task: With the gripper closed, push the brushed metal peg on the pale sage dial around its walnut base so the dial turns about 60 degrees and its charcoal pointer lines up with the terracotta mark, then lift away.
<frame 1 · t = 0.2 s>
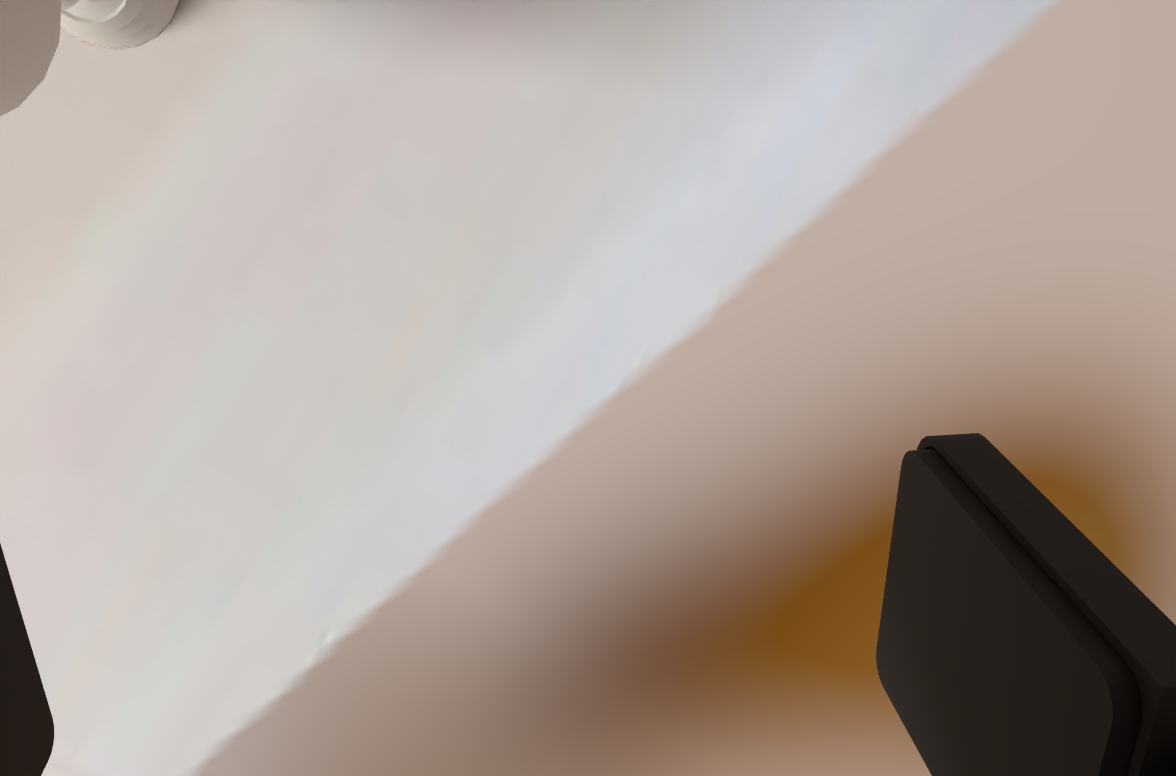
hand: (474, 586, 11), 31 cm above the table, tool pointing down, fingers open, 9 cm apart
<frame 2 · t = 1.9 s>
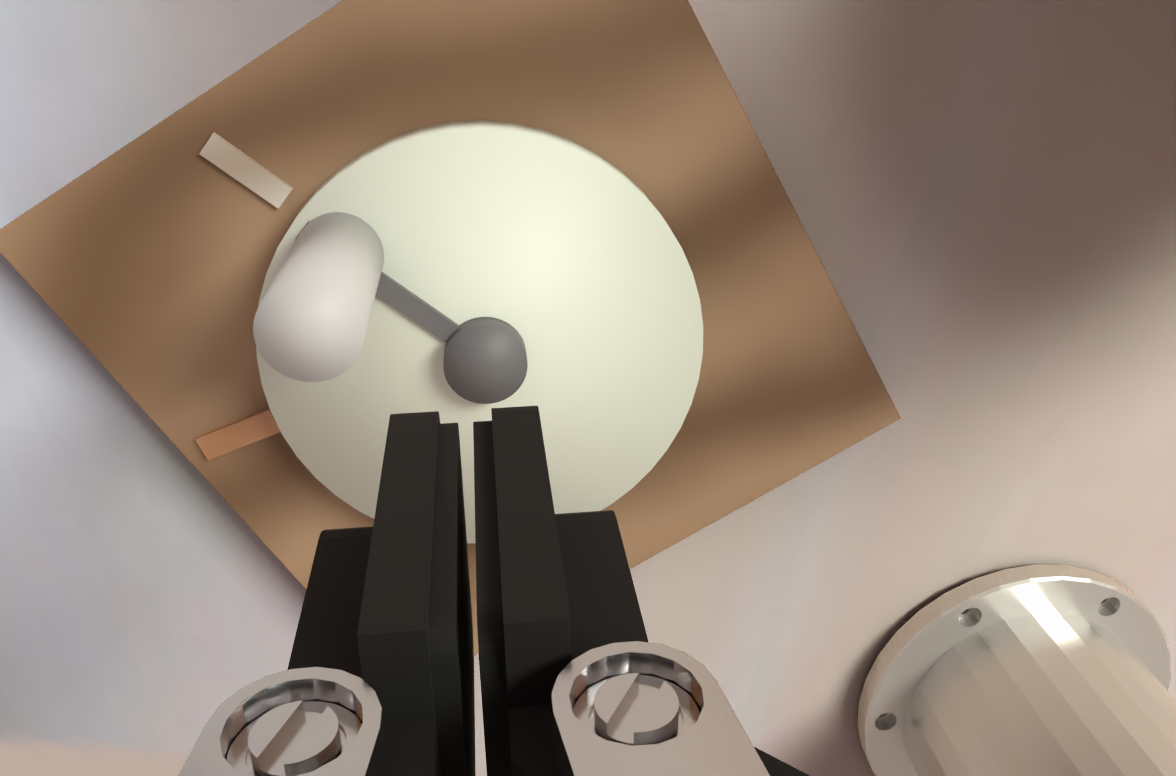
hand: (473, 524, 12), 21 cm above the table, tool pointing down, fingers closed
dial base: (483, 319, 32), on the table
dial: (486, 386, 28), point 5 cm above the table, hinge at 0.0°
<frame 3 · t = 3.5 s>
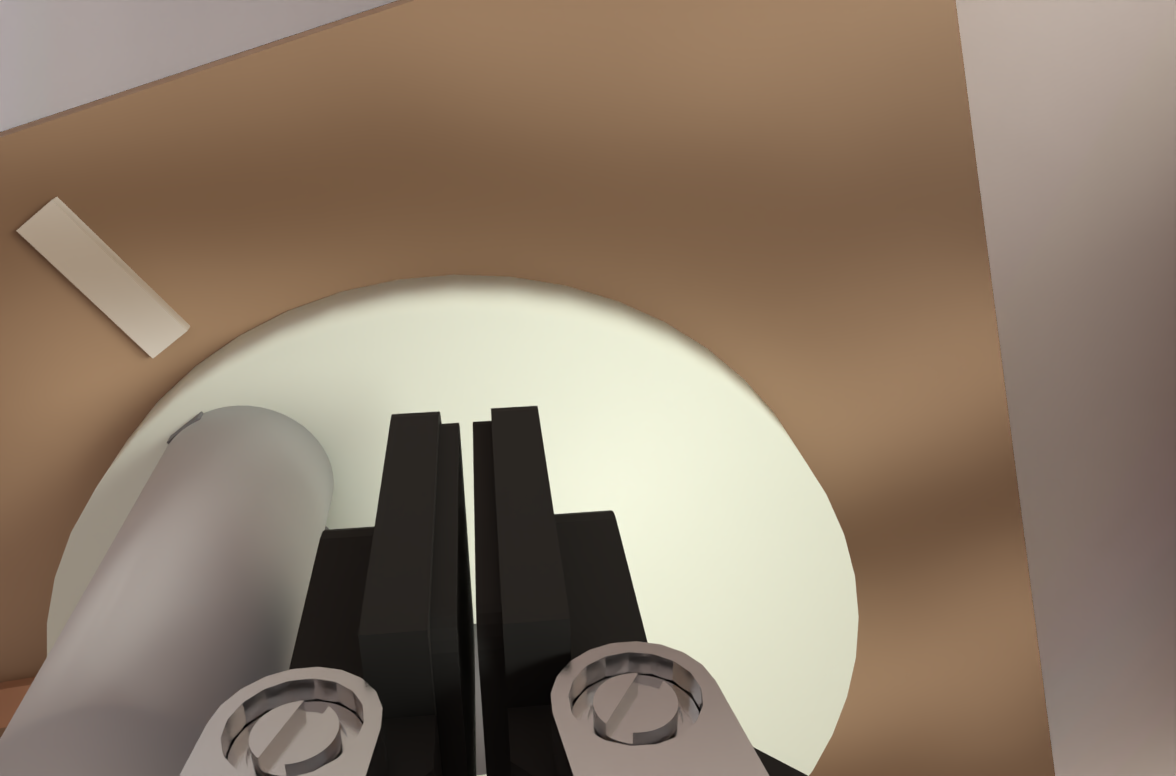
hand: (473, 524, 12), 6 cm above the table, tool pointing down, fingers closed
dial base: (470, 575, 19), on the table
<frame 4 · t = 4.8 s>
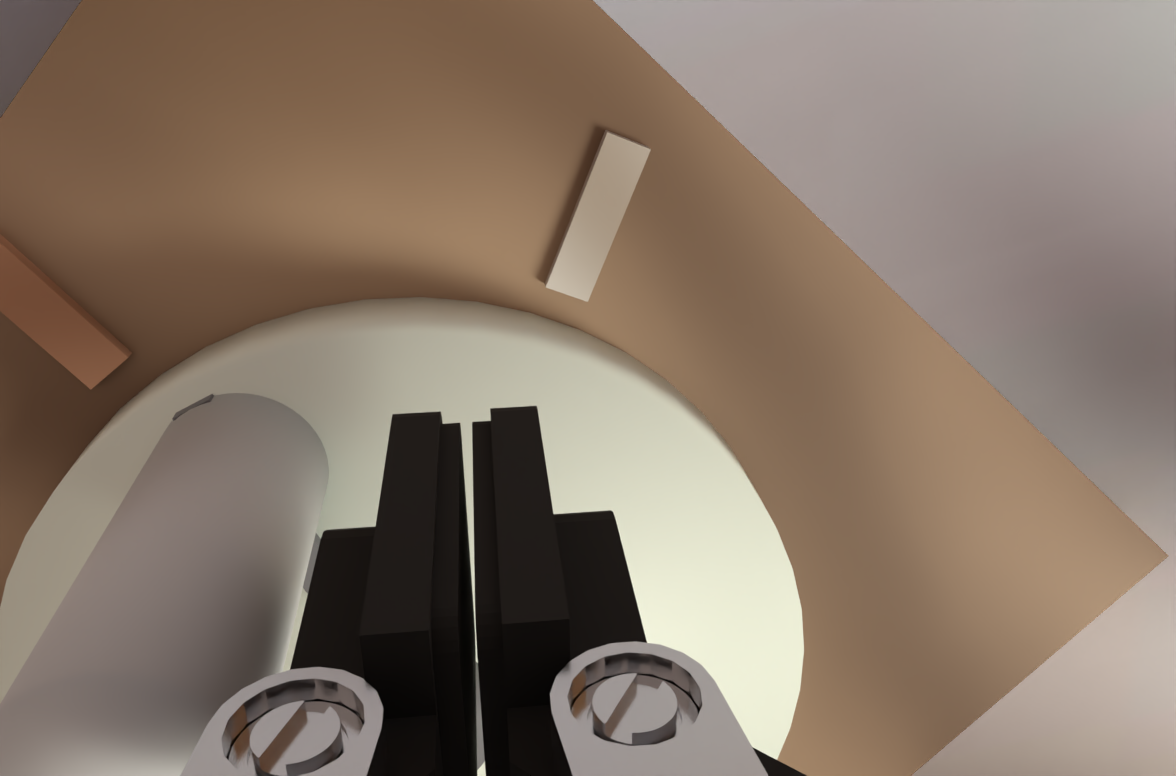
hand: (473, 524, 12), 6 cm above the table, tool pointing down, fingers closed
dial base: (425, 593, 19), on the table
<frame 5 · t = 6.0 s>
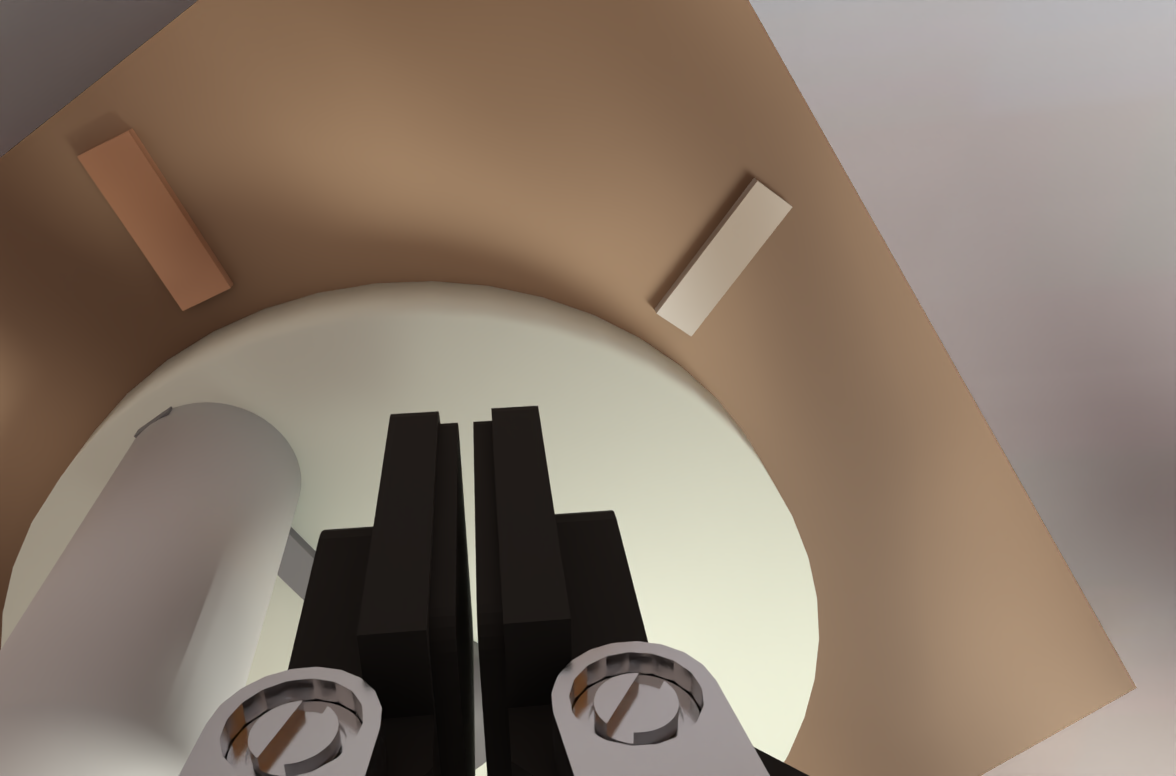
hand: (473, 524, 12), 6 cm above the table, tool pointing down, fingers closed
dial base: (435, 581, 19), on the table
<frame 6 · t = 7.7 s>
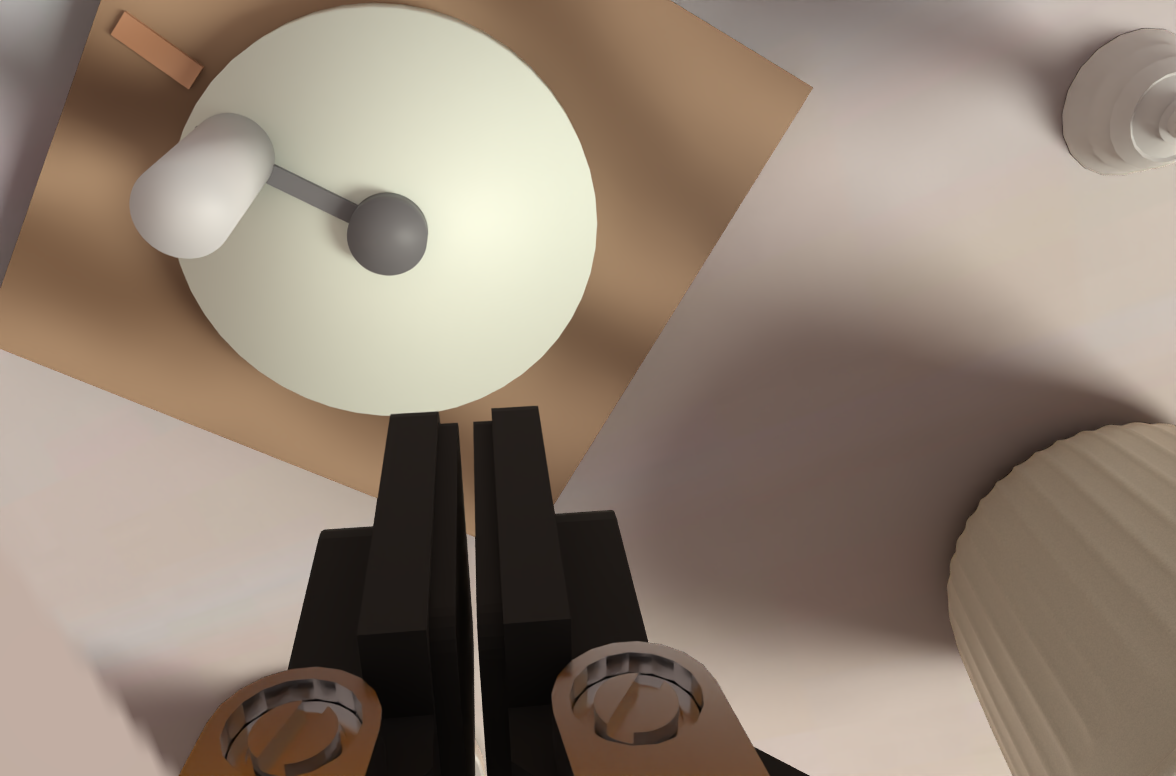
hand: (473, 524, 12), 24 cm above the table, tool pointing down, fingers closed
canister: (1077, 537, 44), on the table
chalice: (1129, 103, 36), on the table
dial base: (395, 203, 34), on the table
dial: (383, 253, 29), point 5 cm above the table, hinge at 69.8°
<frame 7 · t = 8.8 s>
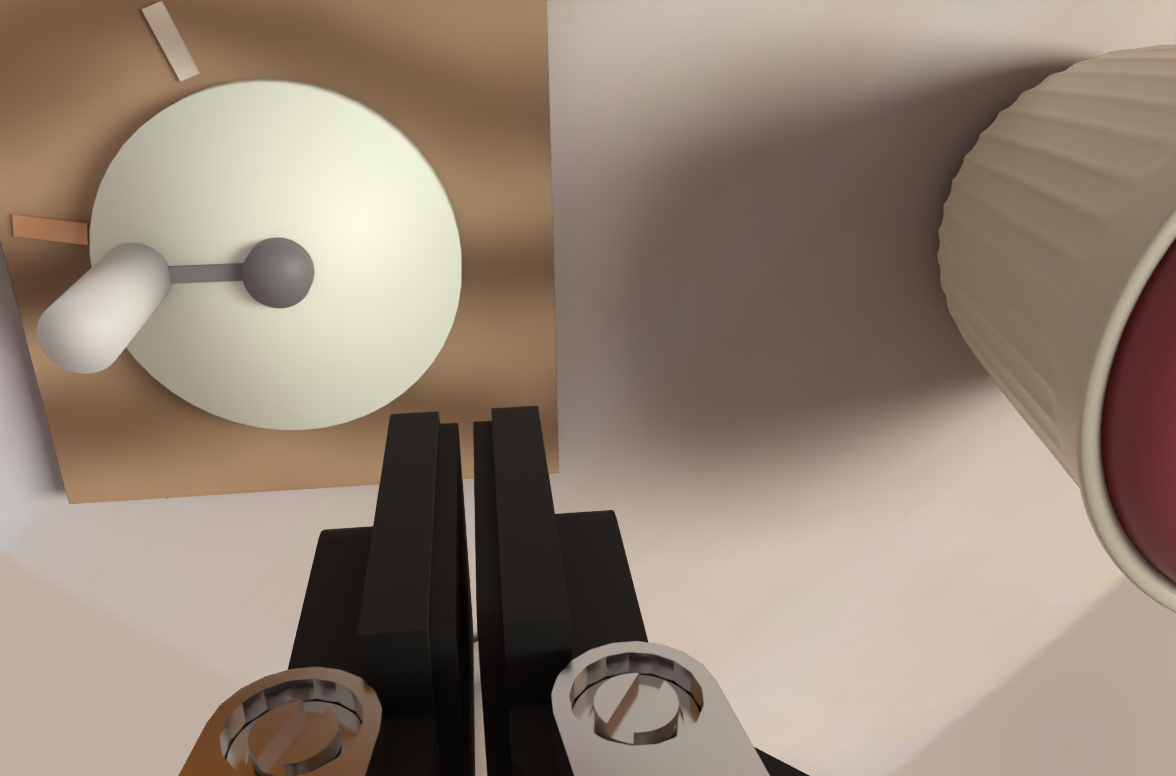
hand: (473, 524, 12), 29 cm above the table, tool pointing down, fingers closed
canister: (1070, 211, 43), on the table
dial base: (293, 245, 39), on the table
dial: (269, 289, 35), point 5 cm above the table, hinge at 69.8°
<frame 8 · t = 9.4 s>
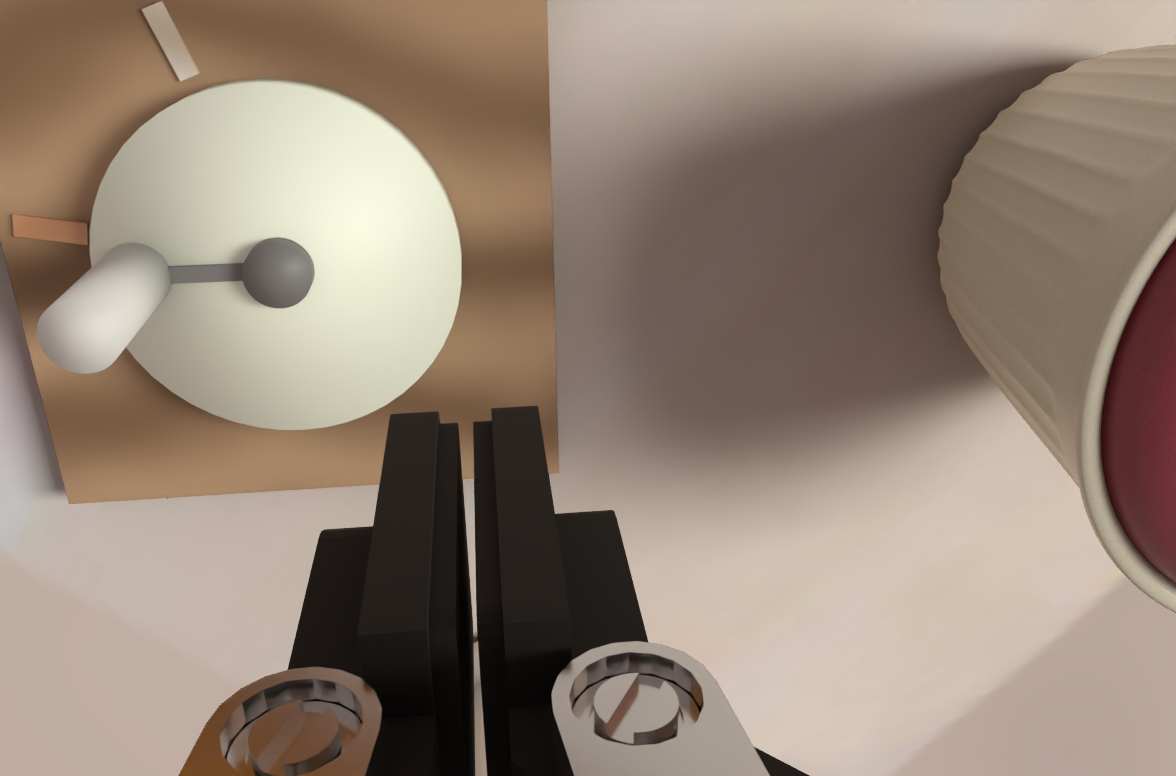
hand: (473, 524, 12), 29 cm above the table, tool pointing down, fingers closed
canister: (1070, 211, 43), on the table
dial base: (293, 245, 39), on the table
dial: (269, 289, 35), point 5 cm above the table, hinge at 69.8°
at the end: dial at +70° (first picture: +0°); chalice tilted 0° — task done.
